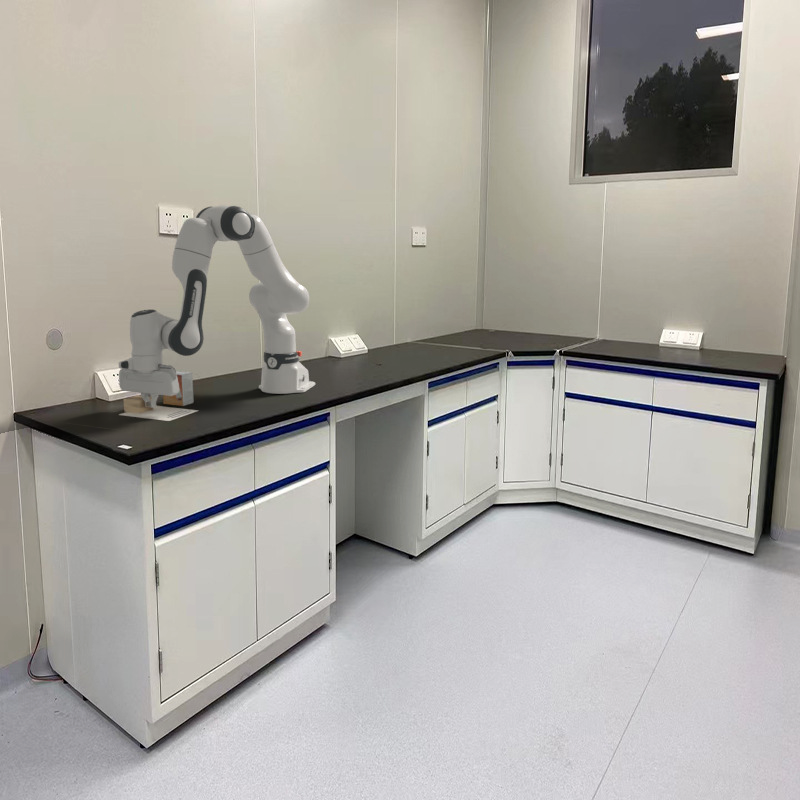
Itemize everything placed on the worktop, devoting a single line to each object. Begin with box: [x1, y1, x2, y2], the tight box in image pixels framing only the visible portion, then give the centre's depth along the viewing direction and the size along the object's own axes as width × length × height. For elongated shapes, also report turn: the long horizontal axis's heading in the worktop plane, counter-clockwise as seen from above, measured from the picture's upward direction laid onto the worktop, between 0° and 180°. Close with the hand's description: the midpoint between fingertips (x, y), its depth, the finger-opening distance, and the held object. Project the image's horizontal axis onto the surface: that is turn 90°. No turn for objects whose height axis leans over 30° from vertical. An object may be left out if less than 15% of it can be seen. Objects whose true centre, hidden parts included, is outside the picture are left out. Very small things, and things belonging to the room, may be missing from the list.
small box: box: [162, 370, 195, 407], centre depth 215 cm, size 8×6×10 cm
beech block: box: [123, 394, 153, 413], centre depth 206 cm, size 6×6×4 cm
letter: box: [118, 405, 199, 422], centre depth 204 cm, size 14×19×1 cm
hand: (150, 407), depth 204 cm, fingers closed
